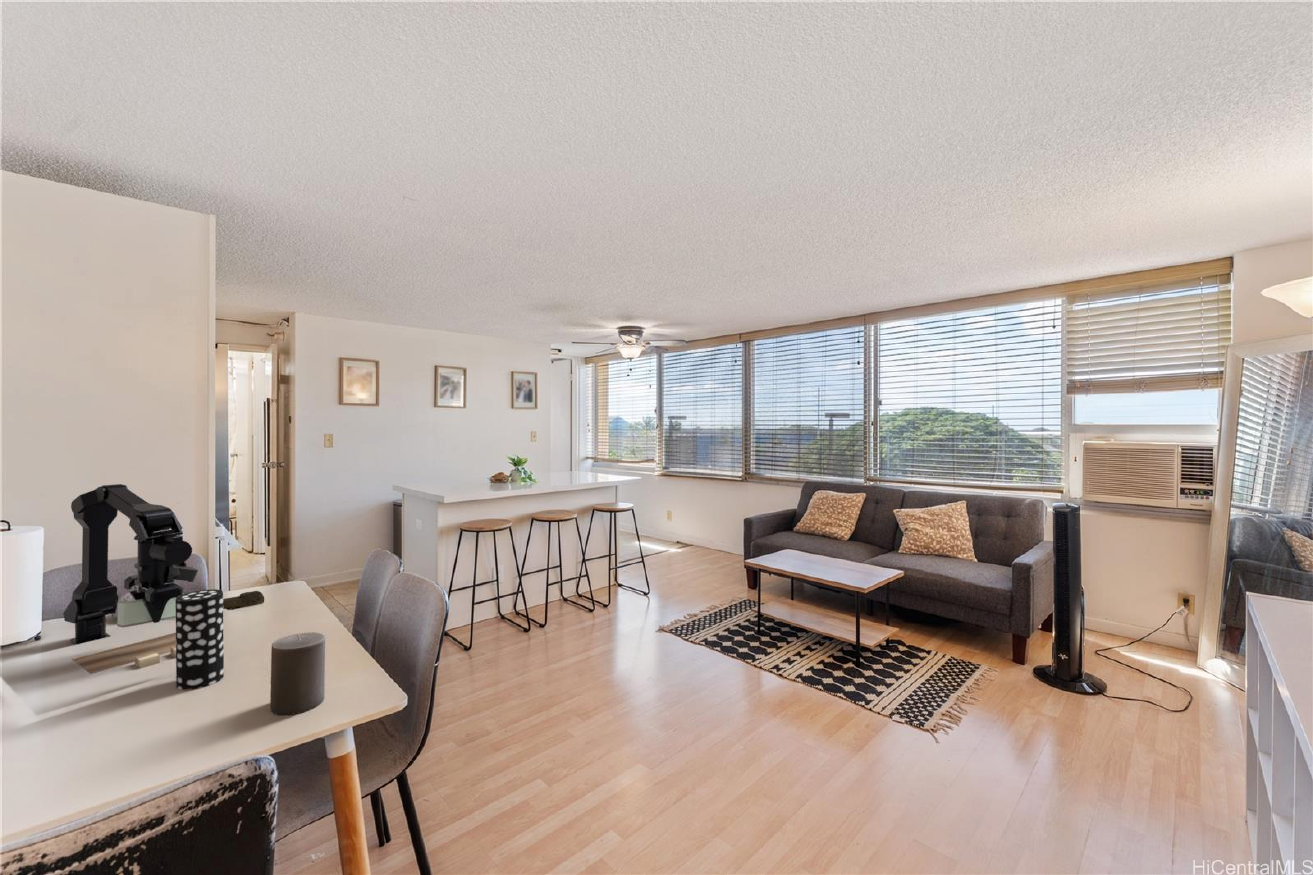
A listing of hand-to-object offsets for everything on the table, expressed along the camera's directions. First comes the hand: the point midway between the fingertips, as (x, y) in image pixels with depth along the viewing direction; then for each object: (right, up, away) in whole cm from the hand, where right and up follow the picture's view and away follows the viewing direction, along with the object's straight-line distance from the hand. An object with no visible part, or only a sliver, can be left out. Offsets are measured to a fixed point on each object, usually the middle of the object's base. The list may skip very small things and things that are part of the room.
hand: (153, 620), depth 135 cm
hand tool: (-10, -9, +35) cm, 37 cm away
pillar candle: (+50, -11, -20) cm, 55 cm away
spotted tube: (+21, -10, -11) cm, 26 cm away
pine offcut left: (+3, -8, -6) cm, 10 cm away
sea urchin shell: (-30, -8, +29) cm, 43 cm away
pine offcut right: (+6, -8, 0) cm, 10 cm away
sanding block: (0, 0, 0) cm, 0 cm away
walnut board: (-3, -9, +2) cm, 10 cm away
